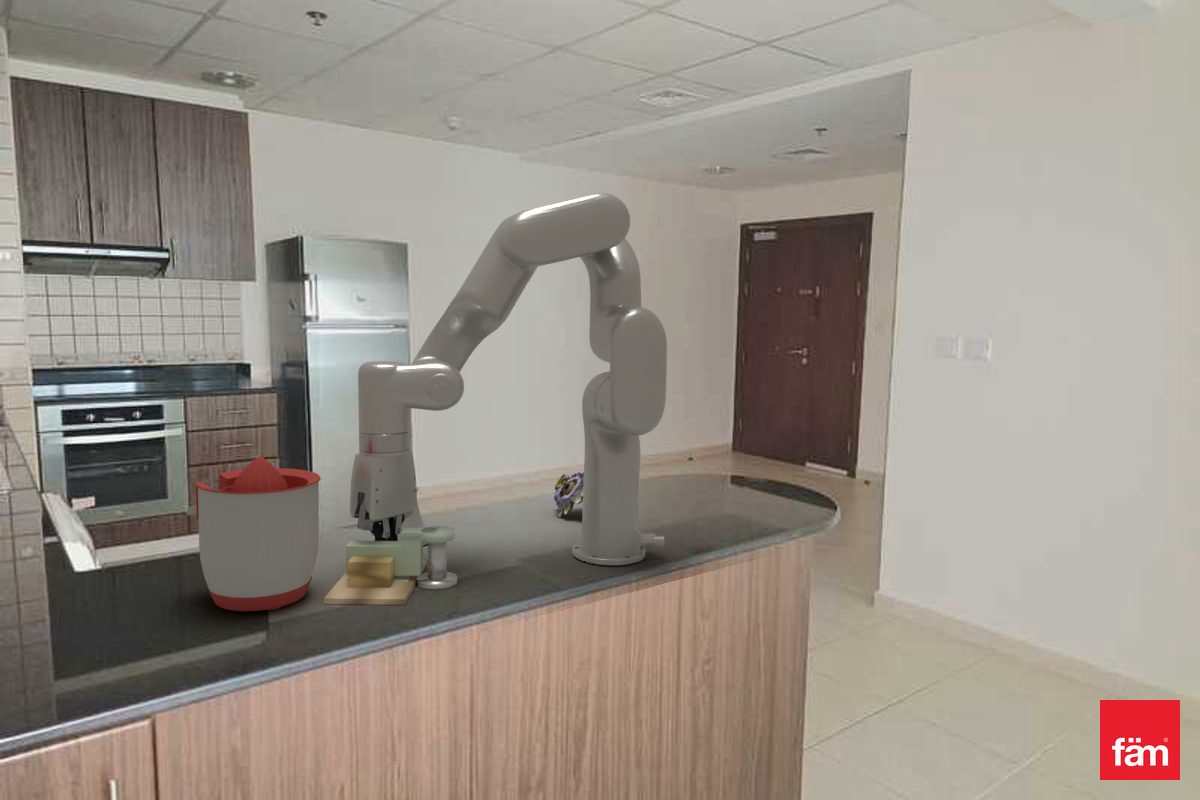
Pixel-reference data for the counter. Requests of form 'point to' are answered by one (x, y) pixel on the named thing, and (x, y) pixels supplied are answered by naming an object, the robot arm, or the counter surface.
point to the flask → (413, 520)
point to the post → (437, 569)
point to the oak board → (371, 593)
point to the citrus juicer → (258, 535)
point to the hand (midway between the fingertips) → (386, 560)
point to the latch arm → (402, 548)
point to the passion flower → (568, 492)
